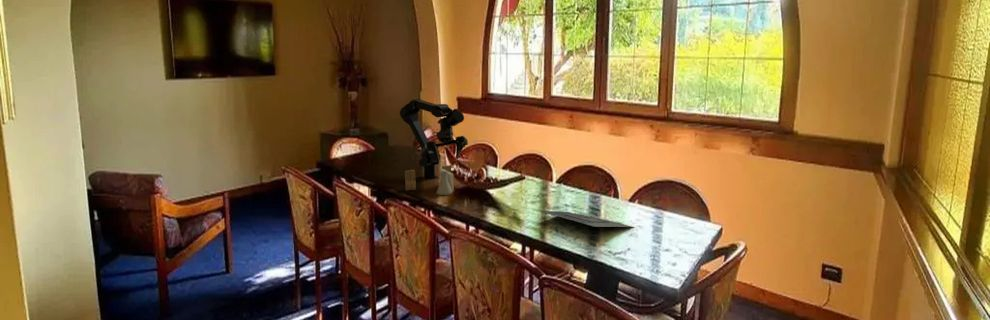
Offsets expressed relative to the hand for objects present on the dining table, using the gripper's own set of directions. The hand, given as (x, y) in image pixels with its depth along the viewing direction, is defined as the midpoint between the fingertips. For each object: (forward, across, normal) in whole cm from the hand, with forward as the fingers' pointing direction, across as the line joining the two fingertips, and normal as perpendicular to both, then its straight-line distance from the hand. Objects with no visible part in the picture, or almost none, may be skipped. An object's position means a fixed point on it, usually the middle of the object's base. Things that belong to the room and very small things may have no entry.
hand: (447, 160), depth 286 cm
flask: (+17, -2, -2) cm, 17 cm away
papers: (+45, +61, -24) cm, 79 cm away
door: (+12, -3, +4) cm, 13 cm away
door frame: (+10, -11, +5) cm, 16 cm away
